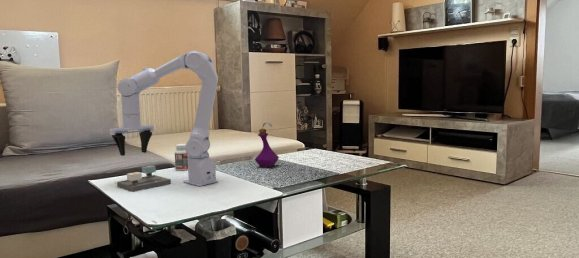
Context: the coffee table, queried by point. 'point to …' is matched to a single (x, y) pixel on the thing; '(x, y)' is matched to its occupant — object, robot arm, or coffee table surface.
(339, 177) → the coffee table surface
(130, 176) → the cream fader
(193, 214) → the coffee table surface
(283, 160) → the coffee table surface
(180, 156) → the pill bottle
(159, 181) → the mixer panel
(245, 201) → the coffee table surface
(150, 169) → the teal fader
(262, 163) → the perfume bottle
